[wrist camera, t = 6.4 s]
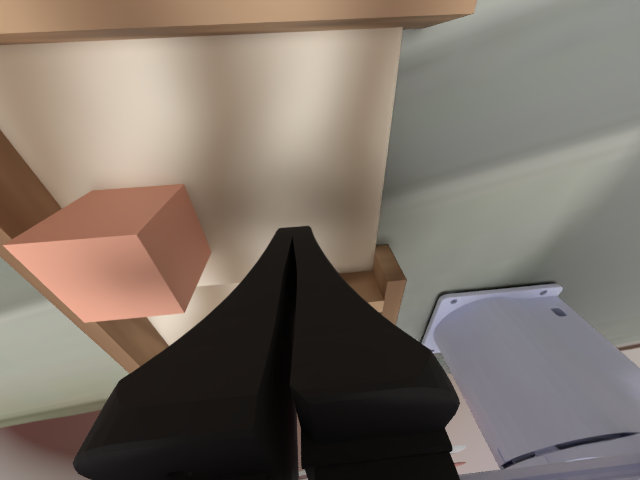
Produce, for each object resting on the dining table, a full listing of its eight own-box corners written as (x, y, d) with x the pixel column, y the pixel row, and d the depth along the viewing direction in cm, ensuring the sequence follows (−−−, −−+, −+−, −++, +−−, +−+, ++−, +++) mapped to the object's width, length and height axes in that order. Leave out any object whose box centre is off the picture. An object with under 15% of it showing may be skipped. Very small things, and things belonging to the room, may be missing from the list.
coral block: (184, 183, 11) (136, 234, 7) (211, 252, 13) (184, 313, 10) (91, 190, 10) (2, 245, 7) (136, 258, 13) (84, 322, 10)
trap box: (430, -12, 8) (488, -44, 6) (367, 369, 24) (375, 402, 22) (-107, 9, 7) (-305, -19, 5) (197, 387, 23) (186, 424, 21)
